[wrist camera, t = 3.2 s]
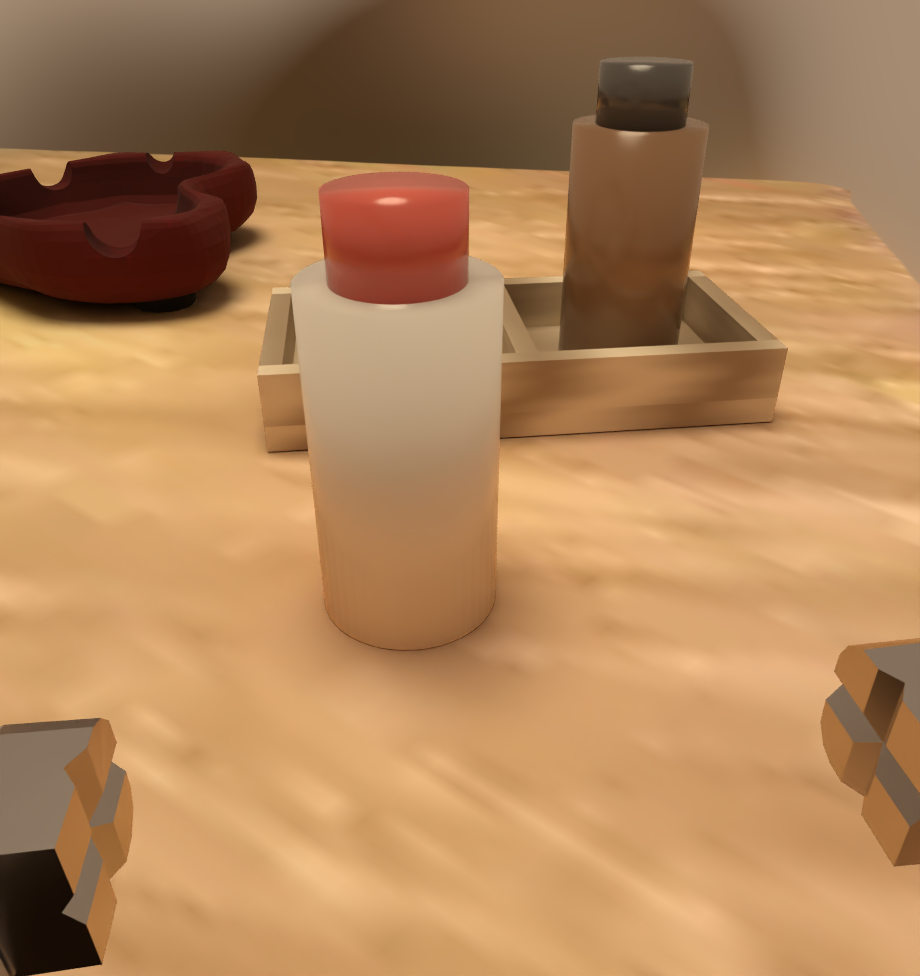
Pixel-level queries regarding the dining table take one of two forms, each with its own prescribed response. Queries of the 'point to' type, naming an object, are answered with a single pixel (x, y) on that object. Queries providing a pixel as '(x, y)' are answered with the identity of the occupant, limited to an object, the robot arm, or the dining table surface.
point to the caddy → (579, 369)
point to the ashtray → (125, 227)
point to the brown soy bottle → (632, 207)
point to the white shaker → (402, 409)
